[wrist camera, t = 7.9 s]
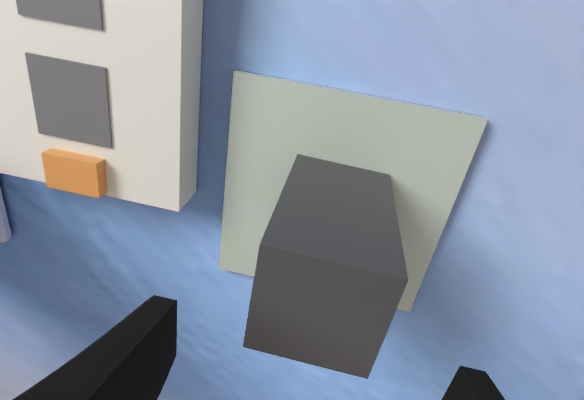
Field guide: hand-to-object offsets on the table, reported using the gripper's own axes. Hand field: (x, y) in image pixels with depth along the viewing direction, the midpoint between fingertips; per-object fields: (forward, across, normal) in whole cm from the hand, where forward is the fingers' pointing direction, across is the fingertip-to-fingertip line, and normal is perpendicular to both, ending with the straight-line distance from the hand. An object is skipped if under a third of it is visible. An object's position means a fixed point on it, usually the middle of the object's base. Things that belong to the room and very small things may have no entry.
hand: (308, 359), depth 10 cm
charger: (+8, 0, 0) cm, 9 cm away
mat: (+9, 0, 0) cm, 9 cm away
